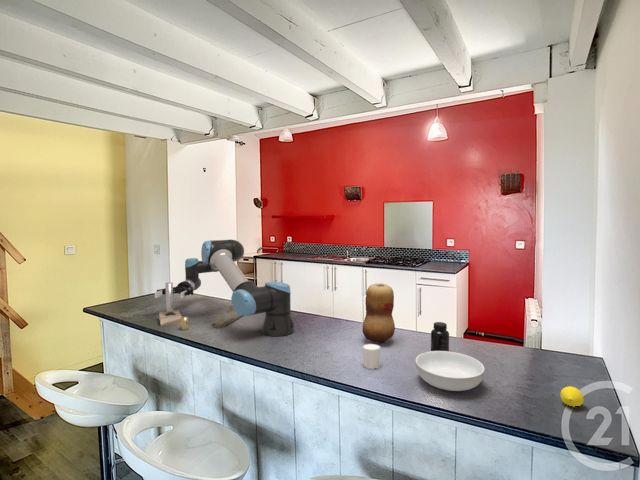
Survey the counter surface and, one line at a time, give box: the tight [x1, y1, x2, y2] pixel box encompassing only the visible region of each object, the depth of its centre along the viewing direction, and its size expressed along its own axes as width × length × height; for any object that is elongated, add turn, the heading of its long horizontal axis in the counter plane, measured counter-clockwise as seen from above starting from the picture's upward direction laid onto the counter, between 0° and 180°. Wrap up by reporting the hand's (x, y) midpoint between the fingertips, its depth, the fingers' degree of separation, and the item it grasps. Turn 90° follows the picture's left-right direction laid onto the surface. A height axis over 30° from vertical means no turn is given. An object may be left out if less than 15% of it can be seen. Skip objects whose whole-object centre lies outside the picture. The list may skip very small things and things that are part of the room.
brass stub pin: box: [180, 315, 190, 332], centre depth 175 cm, size 4×4×6 cm
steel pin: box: [165, 281, 175, 316], centre depth 189 cm, size 4×4×20 cm
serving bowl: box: [414, 350, 486, 392], centre depth 117 cm, size 21×21×7 cm
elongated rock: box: [211, 304, 243, 329], centre depth 194 cm, size 35×5×10 cm
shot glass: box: [361, 343, 382, 370], centre depth 131 cm, size 7×7×7 cm
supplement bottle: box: [430, 321, 450, 352], centre depth 141 cm, size 7×7×12 cm
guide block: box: [158, 309, 183, 327], centre depth 190 cm, size 14×10×4 cm
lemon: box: [560, 385, 585, 408], centre depth 102 cm, size 7×5×5 cm
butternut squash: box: [362, 282, 396, 344], centre depth 155 cm, size 14×13×25 cm
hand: (168, 295), depth 189 cm, fingers open, 13 cm apart
